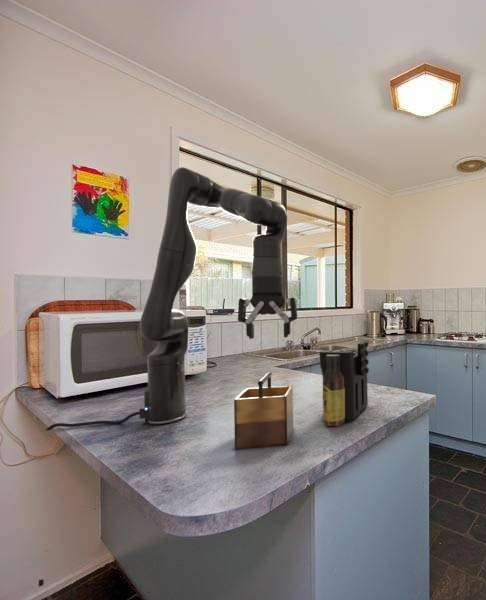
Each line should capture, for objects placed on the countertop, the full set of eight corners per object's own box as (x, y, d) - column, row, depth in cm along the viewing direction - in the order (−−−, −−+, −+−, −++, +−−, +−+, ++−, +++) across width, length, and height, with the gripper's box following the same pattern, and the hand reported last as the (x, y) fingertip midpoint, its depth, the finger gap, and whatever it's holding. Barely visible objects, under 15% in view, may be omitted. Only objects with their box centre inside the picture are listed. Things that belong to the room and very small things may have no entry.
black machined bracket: (319, 422, 94) (317, 346, 94) (345, 400, 115) (344, 338, 115) (357, 425, 92) (356, 347, 92) (377, 402, 112) (376, 338, 112)
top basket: (234, 424, 78) (233, 382, 78) (246, 410, 88) (245, 373, 88) (286, 420, 80) (286, 379, 80) (293, 407, 90) (292, 370, 90)
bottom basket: (234, 449, 78) (234, 424, 78) (246, 432, 88) (246, 410, 88) (287, 445, 80) (286, 420, 80) (293, 429, 90) (293, 407, 90)
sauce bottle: (324, 419, 96) (323, 352, 96) (346, 418, 97) (345, 352, 97) (321, 428, 90) (320, 356, 90) (344, 427, 91) (343, 355, 91)
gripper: (297, 276, 90) (298, 335, 90) (242, 276, 88) (243, 337, 88) (294, 274, 83) (295, 338, 83) (233, 274, 80) (235, 340, 80)
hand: (268, 337), depth 85 cm, fingers open, 8 cm apart
